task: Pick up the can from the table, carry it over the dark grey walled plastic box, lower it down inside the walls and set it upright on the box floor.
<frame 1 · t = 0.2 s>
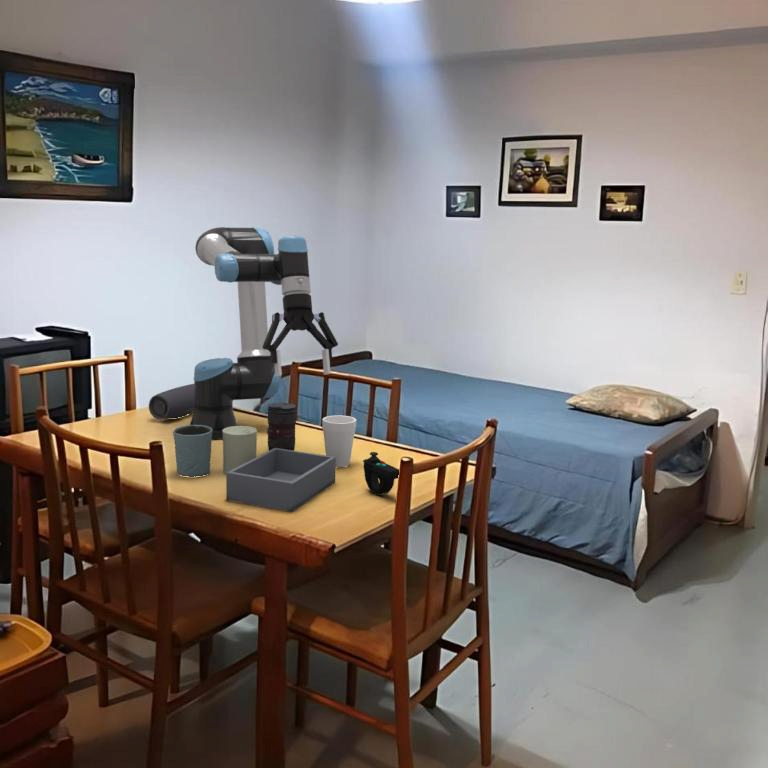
hand: (303, 375, 214), 27 cm above the table, tool tilted 20°, fingers open, 13 cm apart
foam cup: (338, 465, 231), on the table
blue-grey textured cup: (193, 473, 219), on the table
controller: (380, 495, 207), on the table
bluetooth speaker: (180, 416, 278), on the table
camera lens: (281, 456, 237), on the table
box: (282, 491, 207), on the table
can: (239, 472, 221), on the table
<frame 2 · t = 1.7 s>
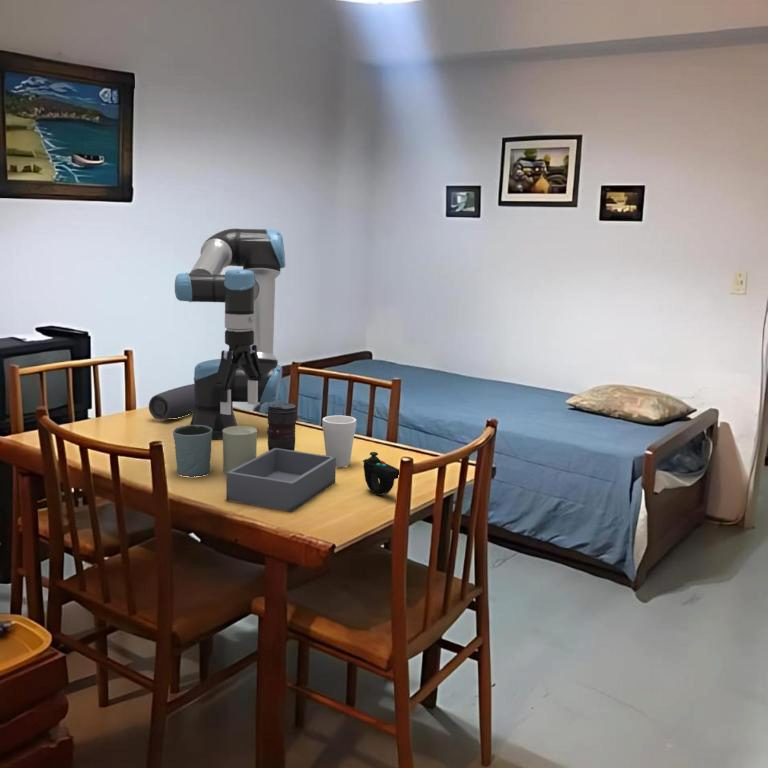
hand: (239, 409, 218), 17 cm above the table, tool pointing down, fingers open, 13 cm apart
nothing on the table moved.
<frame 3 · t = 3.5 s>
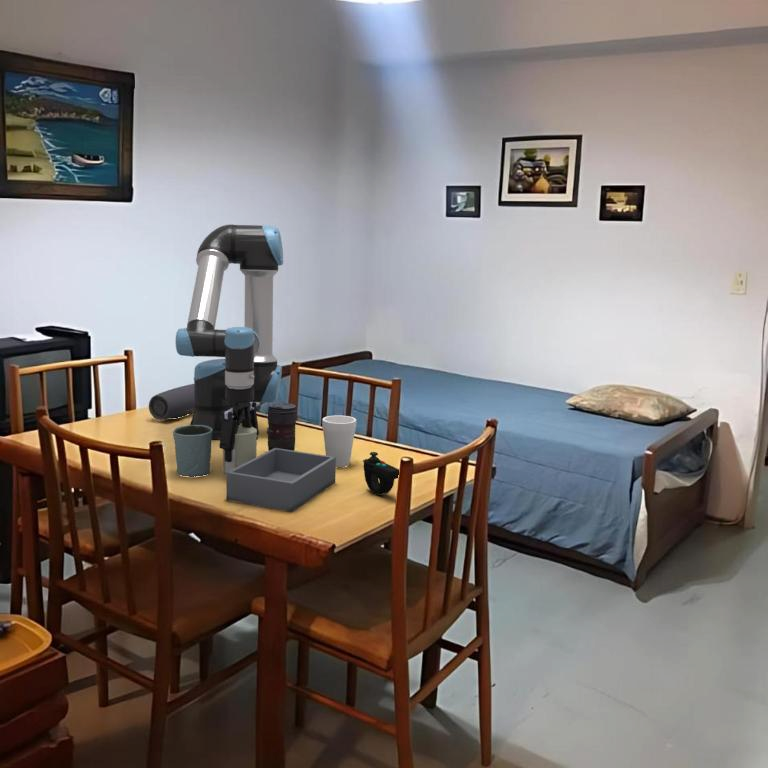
hand: (239, 467, 221), 1 cm above the table, tool pointing down, fingers closed on can, 9 cm apart
can: (239, 471, 221), on the table, touching gripper
everything else where it was.
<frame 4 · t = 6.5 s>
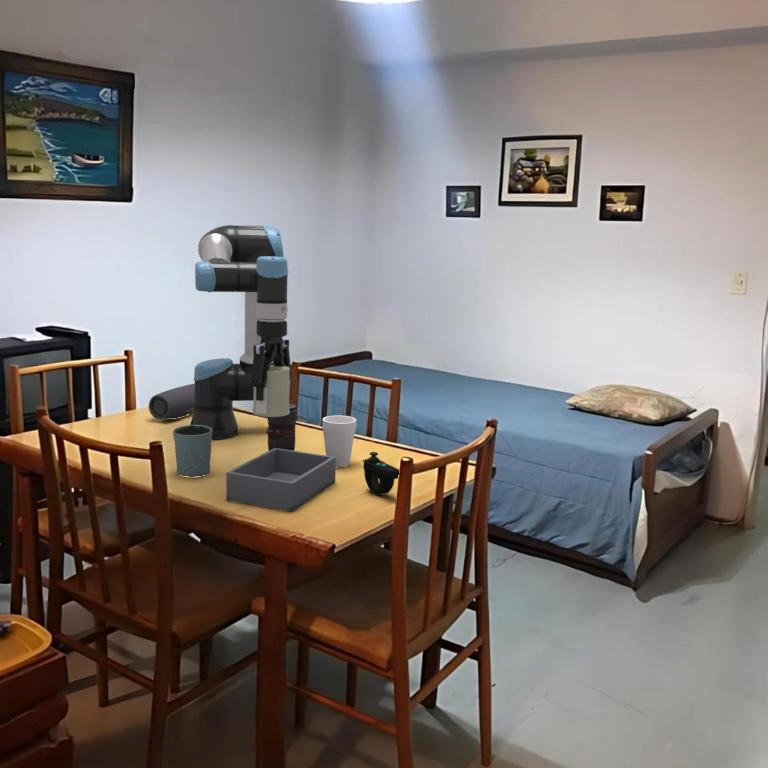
hand: (271, 409, 206), 20 cm above the table, tool pointing down, fingers closed on can, 9 cm apart
can: (271, 413, 206), point 19 cm above the table, touching gripper
everything else where it was.
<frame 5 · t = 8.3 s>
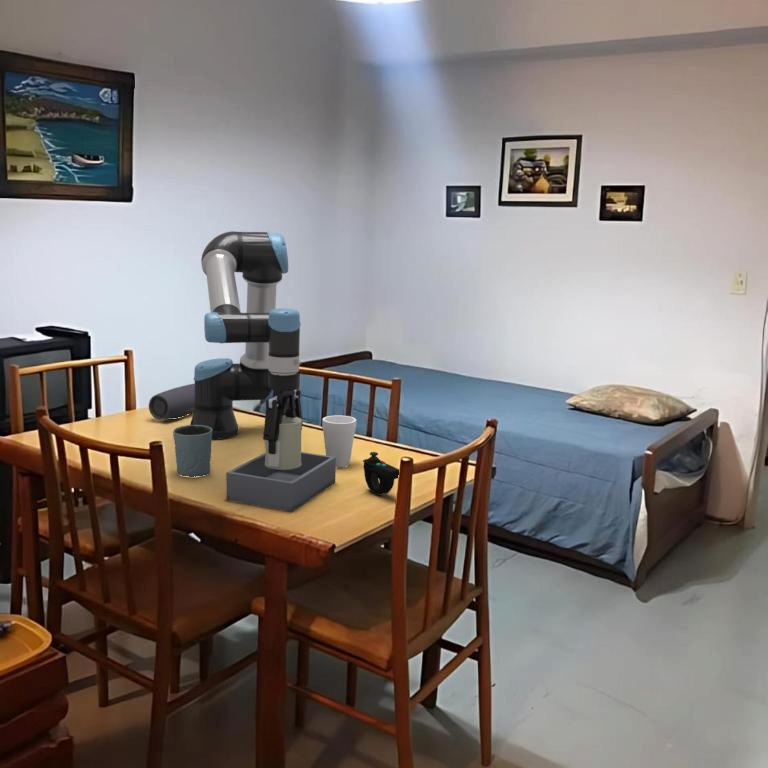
hand: (283, 460, 205), 8 cm above the table, tool pointing down, fingers closed on can, 9 cm apart
can: (283, 465, 205), point 7 cm above the table, touching gripper
everything else where it was.
when the fingers open (3 cm above the table, at t = 9.5 s): can drops 1 cm, resting on box.
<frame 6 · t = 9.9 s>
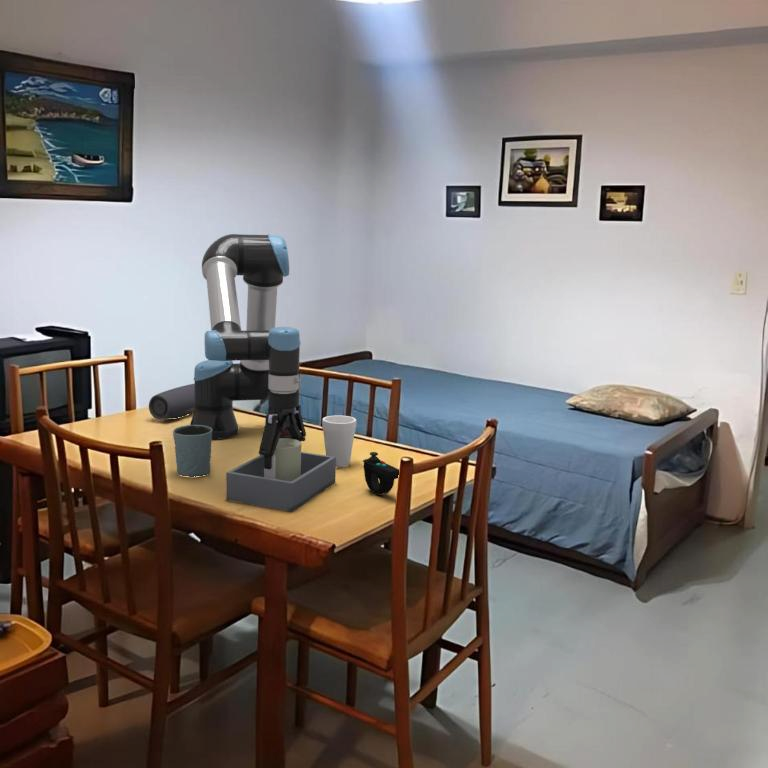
hand: (283, 473, 206), 5 cm above the table, tool pointing down, fingers open, 13 cm apart
can: (282, 487, 207), point 1 cm above the table, touching box
everything else where it was.
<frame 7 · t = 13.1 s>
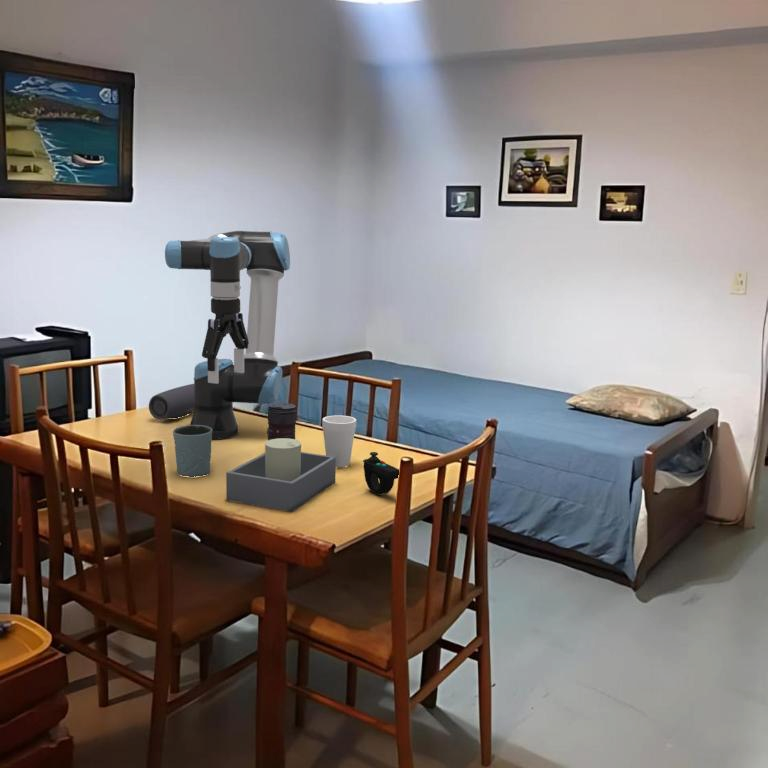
hand: (226, 377, 217), 25 cm above the table, tool pointing down, fingers open, 13 cm apart
nothing on the table moved.
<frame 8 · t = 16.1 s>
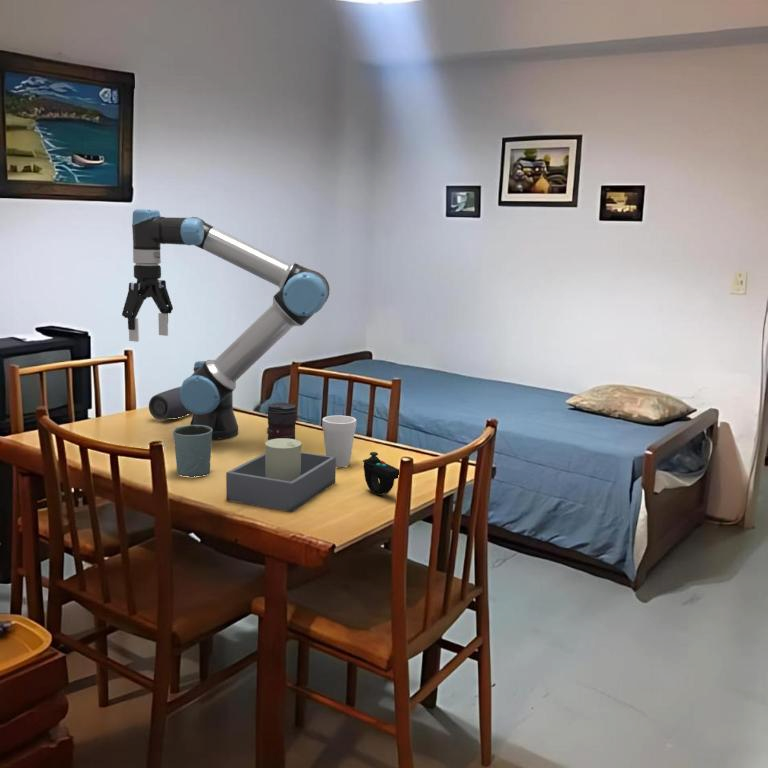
hand: (149, 338, 238), 32 cm above the table, tool pointing down, fingers open, 13 cm apart
nothing on the table moved.
at the end: can inside the target area on the box (0.1 cm from its centre), point 0.8 cm above the box's base; can tilted 0°; the gripper is holding nothing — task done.
